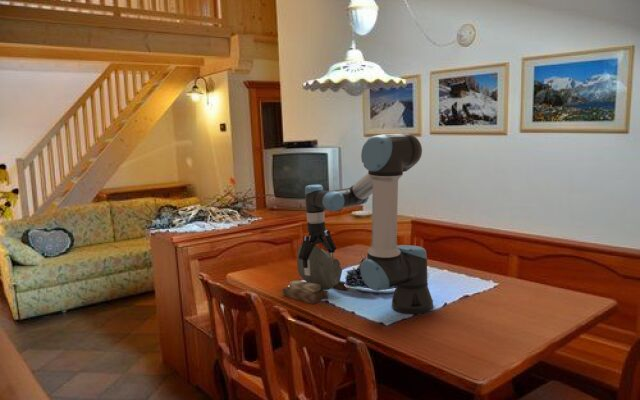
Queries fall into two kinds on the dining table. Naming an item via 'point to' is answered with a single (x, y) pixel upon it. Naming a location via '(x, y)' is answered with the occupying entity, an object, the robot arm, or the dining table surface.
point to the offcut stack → (305, 287)
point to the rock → (321, 269)
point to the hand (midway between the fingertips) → (319, 271)
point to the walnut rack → (309, 297)
